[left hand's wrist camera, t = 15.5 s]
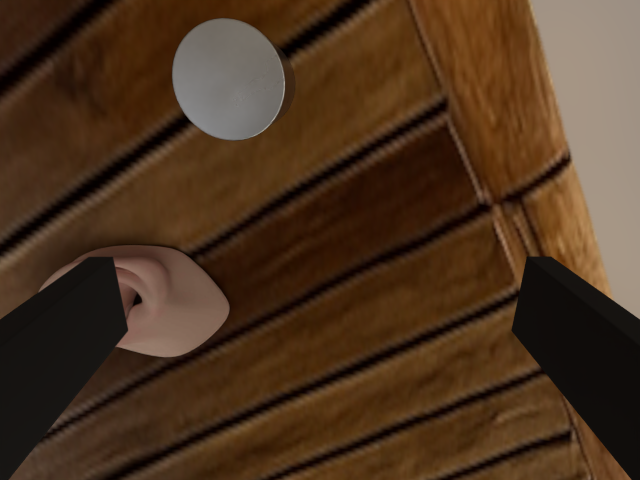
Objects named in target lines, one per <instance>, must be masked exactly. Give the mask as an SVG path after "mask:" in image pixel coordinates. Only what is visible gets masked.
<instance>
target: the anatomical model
mask: <svg viewBox="0 0 640 480" xmlns="http://www.w3.org/2000/svg"><path fill="white" fill-rule="evenodd" d="M88 257H113V259H114V264H115V269H116V273H117V278H118V283H119V288H120V292H121V297H122V302H123V307H124V312H125V316H126V321H127V326H128V332H127V333H126V334H125V336H124V337H123V338H122V339H121V341H120V342H119V343H118V344H117V345H116V347H121V348H124V349H128V350H131V351H135V352H139V353H143V354H148V355H152V356H159V357H174V356H179V355H182V354H185V353H187V352H189V351H191V350H193V349H195V348H197V347H198V346H199V345H201V344H202V343H204V342H205V341H206V340H207V339H208V338H210V337H211V336H212V335H213V334H214V333H215V332H216V331H217V330H218V329H219V328H220V327H221V325H222V324H223V323H224V322H225V320H226V319H227V317H228V314H229V303H228V301H227V299H226V297H225V296H224V294H223V293H222V291H221V290H220V289H219V287H218V286H217V285H216V284H215V283H214V281H213V280H212V279H211V278H210V277H209V276H208V274H207V273H206V272H205V271H204V270H203V269H202V268H201V267H199V266H198V265H197V264H196V263H195V262H194V261H193V260H191V259H190V258H189V257H188V256H186V255H185V254H183V253H182V252H180V251H178V250H175V249H171V248H166V247H159V246H143V245H123V246H111V247H106V248H100V249H97V250H94V251H91V252H89V253H86V254H84V255H82V256H80V257H79V258H77V259H76V260H74V261H73V262H72V263H70V264H67V265H66V266H64V267H62V268H61V269H59V270H58V271H56V272H55V273H54V274H53V275H52V276H51V277H50V278H49V279H48V280H47V281H46V282H45V283H44V284H43V286H42V287H41V288H40V290H39V292H40V291H41V290H43V289H44V288H45V287H47V286H48V285H50V284H51V283H52V282H54V281H55V280H57V279H58V278H59V277H61V276H62V275H64V274H65V273H67V272H68V271H69V270H71V269H72V268H74V267H75V266H76V265H78V264H79V263H81V262H82V261H83V260H85V259H86V258H88Z"/></svg>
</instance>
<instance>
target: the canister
mask: <svg viewBox="0 0 640 480" xmlns="http://www.w3.org/2000/svg"><path fill="white" fill-rule="evenodd" d="M172 82H173V88H174V92H175V95H176V98H177V101H178V103H179V105H180V107H181V109H182V110H183V112H184V113H185V115H186V116H187V117H188V119H189V120H190V121H191V122H192V123H193V124H194V125H195V126H197V127H198V128H199V129H200V130H202V131H203V132H205V133H207V134H209V135H211V136H213V137H216V138H219V139H223V140H231V141H237V140H244V139H249V138H251V137H254V136H256V135H258V134H260V133H261V132H263V131H264V130H265V129H267V128H268V127H269V126H271V125H272V124H273V123H275V122H276V121H277V120H279V119H280V118H281V117H282V116H283V115H284V114H285V113H286V111H287V110H288V109H289V107H290V105H291V103H292V100H293V97H294V92H295V77H294V72H293V69H292V66H291V64H290V62H289V60H288V58H287V57H286V55H285V54H284V53H283V52H282V50H281V49H280V48H278V47H277V46H276V45H275V44H274V43H273V42H272V41H270V40H269V39H268V38H267V37H266V36H265V35H264V34H262V33H261V32H260V31H259V30H257V29H256V28H254V27H253V26H251V25H249V24H247V23H245V22H242V21H239V20H235V19H230V18H219V19H212V20H209V21H206V22H203V23H201V24H199V25H198V26H196V27H194V28H193V29H192V30H191V31H190V32H189V33H188V34H187V35H186V36H185V37H184V38H183V40H182V41H181V43H180V44H179V46H178V49H177V51H176V53H175V57H174V60H173V66H172Z"/></svg>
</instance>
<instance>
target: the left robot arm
mask: <svg viewBox="0 0 640 480" xmlns="http://www.w3.org/2000/svg"><path fill="white" fill-rule="evenodd" d="M127 332H128V326H127V321H126V316H125V312H124V307H123V302H122V297H121V292H120V288H119V283H118V278H117V273H116V269H115V264H114V259H113V257H88V258H86V259H85V260H83V261H82V262H81V263H79V264H78V265H76V266H75V267H74V268H72V269H71V270H69V271H68V272H67V273H65V274H64V275H62V276H61V277H59V278H58V279H57V280H55V281H54V282H52V283H51V284H50V285H48V286H47V287H45V288H44V289H43V290H41V291H40V292H38V293H37V294H36V295H34V296H33V297H31V298H30V299H28V300H27V301H26V302H24V303H23V304H21V305H20V306H19V307H17V308H16V309H14V310H13V311H12V312H10V313H9V314H7V315H6V316H4V317H3V318H2V319H0V480H8V479H9V478H10V477H11V476H12V475H13V473H14V472H15V471H16V470H17V468H18V467H19V466H20V465H21V463H22V462H23V461H24V460H25V458H26V457H27V456H28V455H29V453H30V452H31V451H32V450H33V448H34V447H35V446H36V445H37V444H38V442H39V441H40V440H41V439H42V437H43V436H44V435H45V434H46V432H47V431H48V430H49V429H50V427H51V426H52V425H53V424H54V422H55V421H56V420H57V419H58V417H59V416H60V415H61V414H62V412H63V411H64V410H65V409H66V408H67V406H68V405H69V404H70V403H71V401H72V400H73V399H74V398H75V396H76V395H77V394H78V393H79V391H80V390H81V389H82V388H83V386H84V385H85V384H86V383H87V381H88V380H89V379H90V378H91V376H92V375H93V374H94V373H95V372H96V370H97V369H98V368H99V367H100V365H101V364H102V363H103V362H104V360H105V359H106V358H107V357H108V355H109V354H110V353H111V352H112V350H113V349H114V348H115V347H116V345H117V344H118V343H119V342H120V341H121V339H122V338H123V337H124V336H125V334H126V333H127ZM512 332H513V333H514V334H515V336H516V337H517V338H518V339H519V341H520V342H521V343H522V344H523V345H524V347H525V348H526V349H527V350H528V352H529V353H530V354H531V355H532V357H533V358H534V359H535V360H536V362H537V363H538V364H539V365H540V367H541V368H542V369H543V370H544V372H545V373H546V374H547V375H548V376H549V378H550V379H551V380H552V381H553V383H554V384H555V385H556V386H557V388H558V389H559V390H560V391H561V393H562V394H563V395H564V396H565V398H566V399H567V400H568V401H569V403H570V404H571V405H572V406H573V408H574V409H575V410H576V411H577V412H578V414H579V415H580V416H581V417H582V419H583V420H584V421H585V422H586V424H587V425H588V426H589V427H590V429H591V430H592V431H593V432H594V434H595V435H596V436H597V437H598V439H599V440H600V441H601V442H602V444H603V445H604V446H605V447H606V448H607V450H608V451H609V452H610V453H611V455H612V456H613V457H614V458H615V460H616V461H617V462H618V463H619V465H620V466H621V467H622V468H623V470H624V471H625V472H626V473H627V475H628V476H629V477H630V478H631V479H632V480H640V319H638V318H637V317H635V316H634V315H633V314H631V313H630V312H628V311H627V310H626V309H624V308H623V307H621V306H620V305H619V304H617V303H616V302H614V301H613V300H612V299H610V298H609V297H607V296H606V295H604V294H603V293H602V292H600V291H599V290H597V289H596V288H595V287H593V286H592V285H590V284H589V283H588V282H586V281H585V280H583V279H582V278H580V277H579V276H578V275H576V274H575V273H573V272H572V271H571V270H569V269H568V268H566V267H565V266H564V265H562V264H561V263H559V262H558V261H557V260H555V259H554V258H552V257H527V259H526V264H525V269H524V273H523V278H522V283H521V288H520V292H519V297H518V302H517V307H516V312H515V316H514V321H513V326H512Z"/></svg>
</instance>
